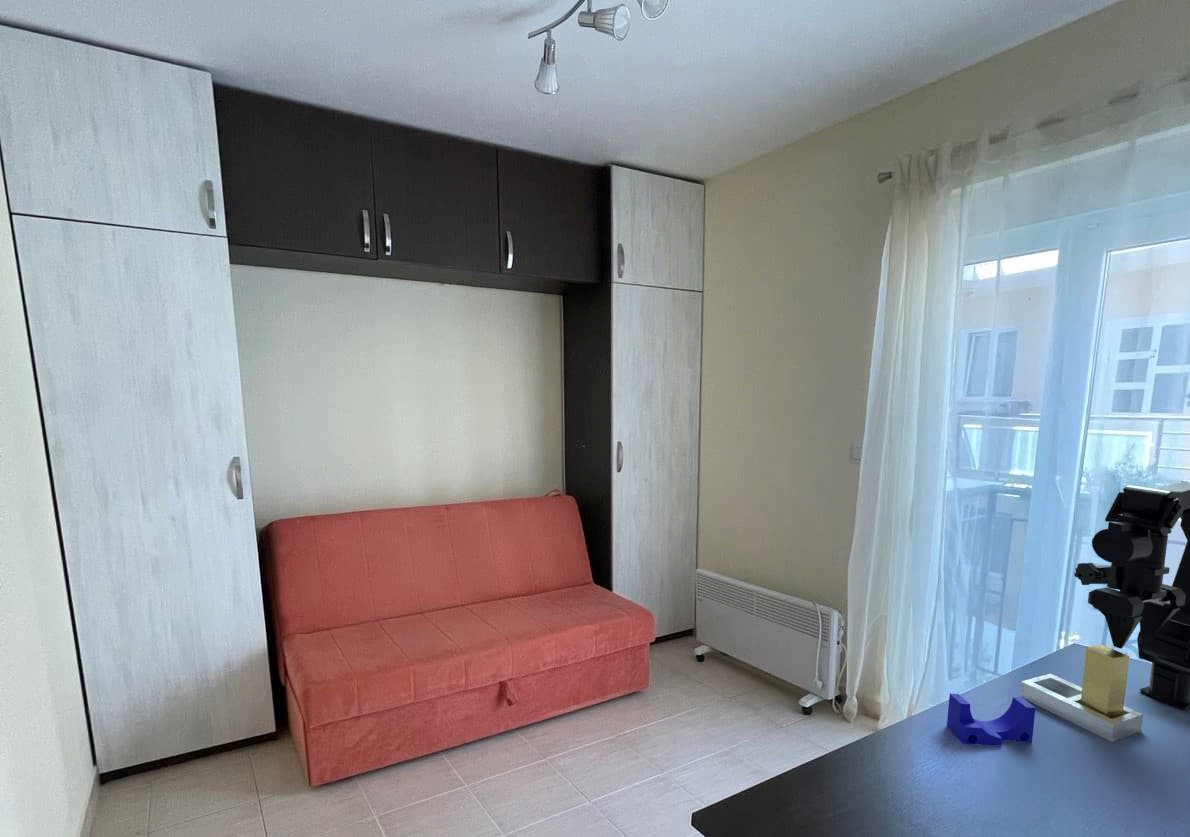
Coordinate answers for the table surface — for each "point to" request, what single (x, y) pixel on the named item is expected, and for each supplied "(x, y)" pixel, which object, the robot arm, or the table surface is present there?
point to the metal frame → (1078, 707)
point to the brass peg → (1104, 680)
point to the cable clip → (991, 723)
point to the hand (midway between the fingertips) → (1131, 643)
